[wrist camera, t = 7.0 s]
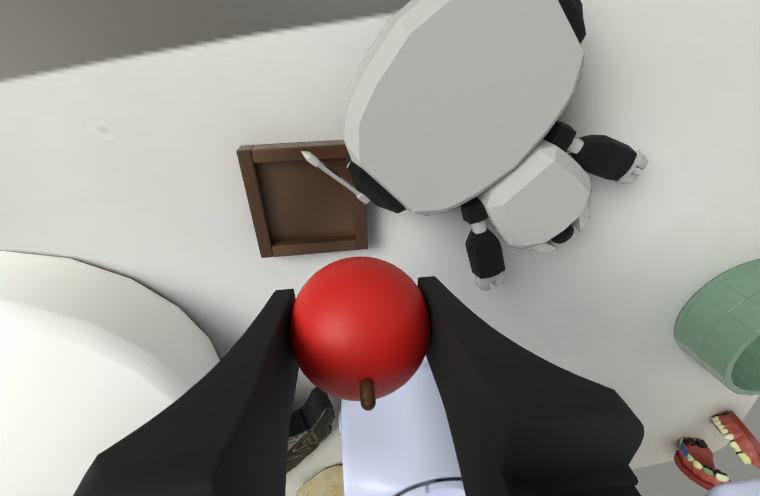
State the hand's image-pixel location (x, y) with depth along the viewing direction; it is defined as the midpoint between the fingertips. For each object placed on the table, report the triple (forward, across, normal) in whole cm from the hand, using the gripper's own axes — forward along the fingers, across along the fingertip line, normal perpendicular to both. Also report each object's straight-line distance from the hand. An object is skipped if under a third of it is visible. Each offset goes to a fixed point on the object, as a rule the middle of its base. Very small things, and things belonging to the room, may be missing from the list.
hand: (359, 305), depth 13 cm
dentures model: (+7, -38, +25) cm, 46 cm away
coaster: (+9, +2, -1) cm, 9 cm away
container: (+9, +20, +11) cm, 24 cm away
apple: (+1, 0, 0) cm, 1 cm away
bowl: (+9, -31, +11) cm, 34 cm away
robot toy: (+9, -7, -4) cm, 12 cm away
